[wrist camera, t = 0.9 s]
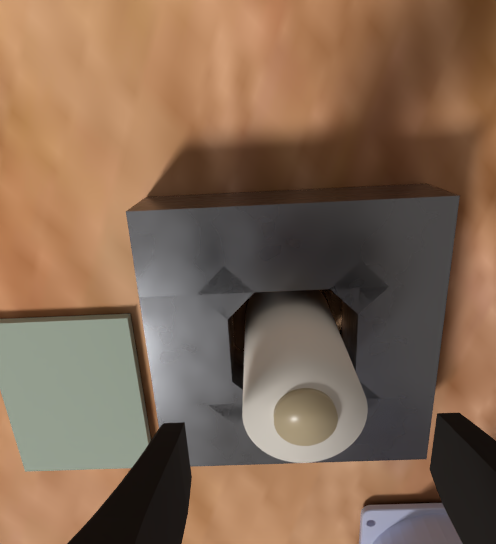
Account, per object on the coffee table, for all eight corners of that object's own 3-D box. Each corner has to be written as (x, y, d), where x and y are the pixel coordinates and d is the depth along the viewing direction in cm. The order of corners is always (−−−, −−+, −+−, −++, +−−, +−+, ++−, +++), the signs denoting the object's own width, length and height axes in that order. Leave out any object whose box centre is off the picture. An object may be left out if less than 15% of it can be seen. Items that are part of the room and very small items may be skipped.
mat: (154, 460, 23) (152, 467, 22) (29, 464, 23) (25, 471, 23) (130, 313, 20) (127, 318, 19) (-14, 319, 20) (-20, 324, 19)
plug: (328, 351, 20) (367, 468, 14) (247, 354, 20) (245, 471, 14) (329, 275, 19) (373, 363, 12) (243, 279, 19) (238, 368, 12)
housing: (403, 414, 22) (426, 459, 19) (176, 422, 22) (164, 467, 19) (426, 183, 18) (459, 195, 15) (145, 197, 18) (125, 211, 15)
